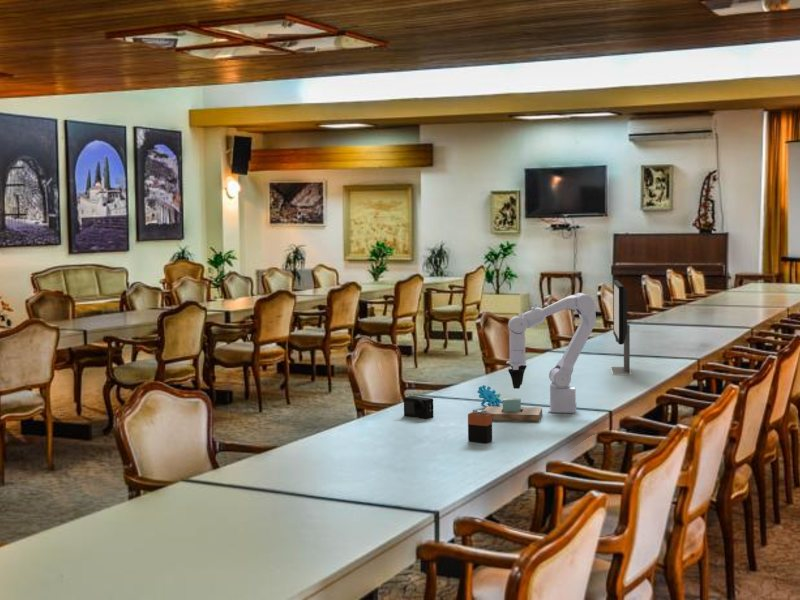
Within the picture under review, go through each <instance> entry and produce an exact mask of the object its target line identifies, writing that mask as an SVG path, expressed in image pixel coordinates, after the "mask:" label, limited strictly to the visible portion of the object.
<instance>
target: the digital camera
mask: <svg viewBox="0 0 800 600" xmlns="http://www.w3.org/2000/svg"><path fill="white" fill-rule="evenodd" d="M403 417H407V418H415V419H423V420H428V419H431V418H434V398H431V397H423V396H416V395H409V396H408V395H407V396H404V397H403Z"/></svg>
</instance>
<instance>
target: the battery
mask: <svg viewBox="0 0 800 600" xmlns="http://www.w3.org/2000/svg"><path fill="white" fill-rule="evenodd" d="M487 412H488V411H486V410H485V409H484V410H481V411H478V410H477V409H473V410H472V412H470V413H468V414H467V440H468V442H470V443H478V444H479V443H480V444H488V443H490V442H492V441H493V421H492V414H491V413H487Z"/></svg>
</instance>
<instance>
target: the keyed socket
mask: <svg viewBox="0 0 800 600" xmlns="http://www.w3.org/2000/svg"><path fill="white" fill-rule="evenodd" d="M484 410H486V411H488V412H487V413H491V414H492V422H520V423H521V422H523V423H524V422H525V423H526V422H527V423H540V420H541V418H542V415H543V407H540V406H539V407H536V406H535V407H534V406H532V407H531V406H528V407H527V406H521V412H503V406H492V405H491V406H488V405H487V406H485V408H484Z"/></svg>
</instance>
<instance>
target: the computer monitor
mask: <svg viewBox="0 0 800 600" xmlns="http://www.w3.org/2000/svg"><path fill="white" fill-rule="evenodd" d="M612 281H613V282H612V284H613V285H612V288H613V289H612V290H613V291H612V294H613V295H612V296H613V297H612V301H613V303H612V304H613V305H612V309H613V310H612V311H613V313H612V314H613V315H612V317H613V318H612V319H613V320H612V322H613V323H612V327H613V329H612V331H613V332H612V333H613V336H614V338H615V339H614V340H615V342H617V343H618V345H623V366H610V367H609V370H610V373H611V374H612V375H614V376H631V375H632V371H631V370H630V362H631V361H630V359H631V357H630V353H631V351H630V349H631V347H630V339H631V338H630V335H631V333H630V330H631V329H630V323H628V291H627V289H626V288H625V287H624V286H623V284H622V283H621V282H620V281H619V280H617V279H614V280H612Z"/></svg>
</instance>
